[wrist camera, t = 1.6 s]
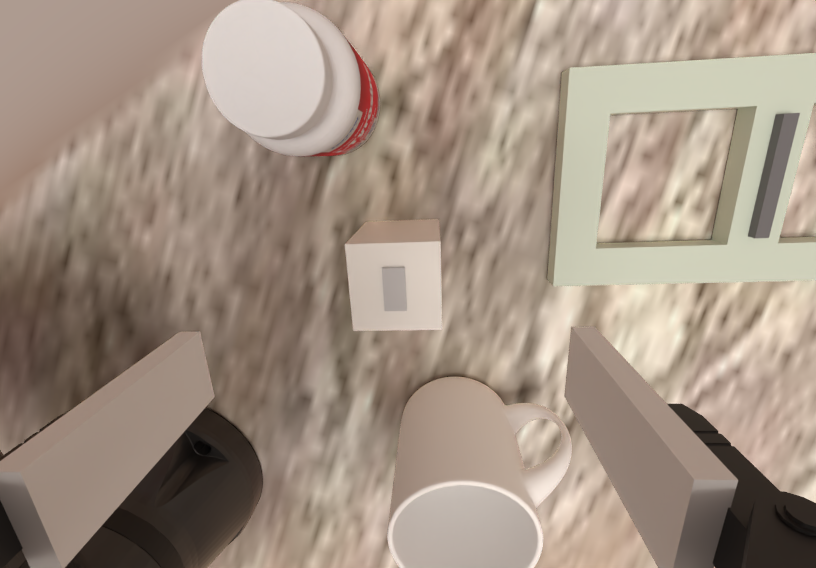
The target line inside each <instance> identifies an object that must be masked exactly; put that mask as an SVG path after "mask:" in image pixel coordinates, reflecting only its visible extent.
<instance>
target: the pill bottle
mask: <svg viewBox="0 0 816 568" xmlns="http://www.w3.org/2000/svg"><path fill="white" fill-rule="evenodd" d="M202 71H203V76H204V80H205V84H206V87H207V90H208V92H209V95H210V97H211V99H212V101H213V102H214V104H215V106H216V107H217V109H218V110H219V111H220V112H221V114H222V115H223V116H224V117H225V118H226V119H227V120H228V121H229V122H231V123H232V124H233V125H234V126H236V127H237V128H239V129H241V130H242V131H244V132H246V133H247V134H248V135H249V136H250V137H251V138H252V139H253V140H255V141H256V142H257V143H259V144H260V145H262V146H263V147H265V148H267V149H269V150H271V151H273V152H276V153H279V154H283V155H288V156H297V157H305V156H336V155H343V154H347V153H349V152H352V151H354V150H356V149H357V148H359V147H360V146H362V145H363V144H364V143H365V142H366V141H367V140H368V139H369V137H370V136H371V134H372V133H373V131H374V129H375V126H376V124H377V121H378V117H379V112H380V96H379V91H378V87H377V84H376V81H375V79H374V77H373V75H372V73H371V72H370V70H369V68H368V67H367V66H366V64H365V63H364V61H363V60H362V59H361V57H360V56H359V55H358V53H357V52H356V51H355V49H354V48H353V47H352V46H351V44H350V43H349V42H348V40H347V39H346V38H345V36H344V35H343V34H342V33H341V31H340V30H339V29H338V28H337V27H336V26H335V25H334V24H333V23H332V22H331V21H330V20H329V19H327V18H326V17H325V16H324V15H322V14H321V13H319V12H317V11H315V10H314V9H312V8H309V7H307V6H304V5H301V4H296V3H291V2H277V1H274V0H240V1H237V2H234V3H232V4H231V5H229V6H227V7H226V8H225V9H224V10H222V11H221V12H220V13H219V14H218V15H217V16H216V18H215V19H214V20H213V22H212V23H211V25H210V27H209V29H208V31H207V33H206V36H205V39H204V43H203V48H202Z"/></svg>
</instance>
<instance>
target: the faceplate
mask: <svg viewBox="0 0 816 568" xmlns="http://www.w3.org/2000/svg"><path fill="white" fill-rule="evenodd" d="M813 105H816V53H806V54H790V55H773V56H757V57H740V58H724V59H707V60H691V61H674V62H658V63H641V64H625V65H608V66H592V67H575V68H569V69H567V70H565V71H564V72H562V74H561V89H560V103H559V117H558V131H557V146H556V160H555V174H554V188H553V202H552V217H551V231H550V245H549V259H548V274H547V280H548V281H549V282H550V283H551V284H552V285H553V286H587V285H632V284H677V283H722V282H767V281H812V280H816V237H786V238H780V234H781V230H782V226H783V222H784V218H785V214H786V210H787V206H788V203H789V199H790V195H791V191H792V187H793V183H794V179H795V175H796V171H797V168H798V164H799V160H800V156H801V152H802V148H803V144H804V140H805V136H806V133H807V129H808V125H809V121H810V117H811V113H812V109H813ZM720 109H738V110H737V115H736V120H735V125H734V130H733V135H732V140H731V145H730V150H729V155H728V160H727V164H726V169H725V174H724V179H723V184H722V189H721V194H720V199H719V204H718V209H717V214H716V219H715V224H714V229H713V234H712V239H711V240H685V241H651V242H617V243H597V233H598V224H599V215H600V206H601V196H602V187H603V178H604V169H605V160H606V150H607V141H608V132H609V123H610V115H624V114H643V113H662V112H682V111H701V110H720Z"/></svg>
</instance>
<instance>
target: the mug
mask: <svg viewBox="0 0 816 568" xmlns="http://www.w3.org/2000/svg"><path fill="white" fill-rule="evenodd" d="M542 418H543V419H549V420H551V421H553V422H555V423H556V424H557V425H558V426H559V428H560V430H561V435H562V436H561V442H560V445H559V447H558V449H557V451H556V452H555V453H554V454H553V455H552V456H551V457H550V458H549V459H547V460H546V461H544V462H542V463H541V464H538V465H536V466H534V467H531V468H528V469H525V467H524V464H523V460H522V457H521V453H520V450H519V447H518V443H517V440H516V436H515V434H516V432H517V431H518V430H519V429H520V428H522V427H523V426H524V425H525V424H527V423H528V422H530V421H533V420H535V419H542ZM571 455H572V443H571V438H570V435H569V432H568V430H567V428H566V426H565V424H564V423H563V422H562V420H561V419H560V418H559V417H558V416H557V415H556V414H555V413H554V412H552V411H551V410H550V409H548V408H546V407H543V406H541V405H537V404H532V403H517V404H510V405H505V404H504V403H503V401H502V400H501V398H500V397H499V396H498V395H497V394H496V393H495V392H494V391H493V390H492V389H490V388H489V387H488V386H486V385H484V384H483V383H481V382H478V381H476V380H473V379H469V378H465V377H444V378H440V379H436V380H434V381H431V382H429V383H427V384H425V385H424V386H422V387H421V388H419V389H418V390H417V391H416V392H415V393H414V394H413V395H412V396H411V397H410V399H409V400H408V402H407V404H406V406H405V409H404V411H403V415H402V419H401V425H400V433H399V441H398V449H397V457H396V466H395V474H394V482H393V490H392V499H391V507H390V515H389V523H388V532H387V539H388V545H389V549H390V552H391V554H392V557H393V559H394V560H395V562H396V564H397V565H398V566H399V567H400V568H534V566H535V565H536V564H537V562H538V560H539V558H540V555H541V552H542V547H543V531H542V527H541V523H540V520H539V516H538V513H537V510H536V509H537V507H538V505H539V504H540V503H541V502H542V501H543V500H544V499H545V498H546V497H547V496H548V495H549V494H550V493H551V492H552V491H553V490H554V489H555V488H556V486H557V485H558V484H559V482H560V481H561V480H562V478H563V476H564V475H565V473H566V471H567V468H568V466H569V464H570V459H571Z"/></svg>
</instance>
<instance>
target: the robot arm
mask: <svg viewBox="0 0 816 568" xmlns="http://www.w3.org/2000/svg"><path fill="white" fill-rule="evenodd" d="M564 396H565V398H566V400H567V402H568V404H569V406H570V407H571V409H572V411H573V413H574V415H575V416H576V418H577V420H578V422H579V424H580V426H581V427H582V429H583V431H584V433H585V435H586V437H587V438H588V440H589V442H590V444H591V446H592V448H593V449H594V451H595V453H596V455H597V457H598V458H599V460H600V462H601V464H602V466H603V468H604V469H605V471H606V473H607V475H608V477H609V479H610V480H611V482H612V484H613V486H614V488H615V490H616V491H617V493H618V495H619V497H620V499H621V500H622V502H623V504H624V506H625V508H626V510H627V511H628V513H629V515H630V517H631V519H632V521H633V522H634V524H635V526H636V528H637V530H638V532H639V533H640V535H641V537H642V539H643V541H644V543H645V544H646V546H647V548H648V550H649V552H650V553H651V555H652V557H653V559H654V561H655V563H656V564H657V566H658V568H714V566H715V568H816V503H814V502H812V501H810V500H808V499H806V498H804V497H800V496H797V495H794V494H791V493H787V492H781V491H779V490H778V489H777V488H776V487H775V486H774V485H773V484H772V483H771V482H770V481H769V480H768V479H767V478H766V477H765V476H764V475H763V474H762V473H761V472H760V471H759V470H758V469H757V468H756V467H755V466H754V465H753V464H752V463H750V462H749V461H748V460H747V459H746V458H745V457H744V456H743V455H742V454H741V453H740V452H739V451H738V450H737V449H736V448H735V447H734V446H731V443H730V442H729V441H728V440H727V439H726V438H725V437H724V436H723V435H722V434H719V433H718V430H717V429H716V428H714V427H713V426H712V425H711V424H710V423H709V422H708V421H707V420H706V419H705V418H704V417H703V416H702V415H700V414H698V413H697V412H695V411H693V410H692V409H690V408H688V407H686V406H685V405H683V404H667V403H666V402H665V401H664V400H663V399H662V398H661V397H660V396H659V395H658V394H657V393H656V392H655V391H654V390H653V388H652V387H651V386H650V385H649V384H648V383H647V382H646V381H645V380H644V379H643V378H642V377H641V376H640V375H639V374H638V372H637V371H636V370H635V369H634V368H633V367H632V366H631V365H630V364H629V363H628V362H627V361H626V360H625V359H624V358H623V356H622V355H621V354H620V353H619V352H618V351H617V350H616V349H615V348H614V347H613V346H612V345H611V344H610V343H609V341H608V340H607V339H606V338H605V337H604V336H603V335H602V334H601V333H600V332H599V331H598V330H597V329H596V328H595V327H594V326H592V327H571V335H570V345H569V355H568V365H567V375H566V385H565V395H564ZM214 397H215V395H214V391H213V386H212V382H211V378H210V373H209V369H208V364H207V360H206V355H205V351H204V346H203V342H202V338H201V333H200V331H194V332H179V333H177V334H176V335H174V336H173V337H172V338H170V339H169V340H168V341H166V342H165V343H163V344H162V345H161V346H159V347H158V348H156V349H155V350H154V351H152V352H151V353H149V354H148V355H147V356H145V357H144V358H143V359H141V360H140V361H138V362H137V363H136V364H134V365H133V366H131V367H130V368H129V369H127V370H126V371H124V372H123V373H122V374H120V375H119V376H118V377H116V378H115V379H113V380H112V381H111V382H109V383H108V384H106V385H105V386H104V387H102V388H101V389H100V390H98V391H97V392H95V393H94V394H93V395H91V396H90V397H88V398H87V399H86V400H84V401H83V402H81V403H80V404H79V405H77V406H76V407H75V408H73V409H72V410H70V411H68V412H66V413H64V414H62V415H60V416H58V417H57V418H56V419H54V420H53V421H51V422H50V423H49V424H47V425H46V426H44V427H43V428H42V429H40V431H39V432H36V433H35V434H33V435H32V436H30V437H29V438H28V439H26V440H25V441H24V443H23V444H19V445H18V446H16V447H15V448H13V449H12V450H11V451H9V452H8V453H6V454H5V455H3V454H2V452H1V451H0V568H207V567H208V566H209V565H210V564H211V563H212V562H213V561H214V560H215V559H216V557H217V556H218V555H219V554H220V553H221V552H222V551H223V550H224V548H225V547H226V546H227V545H229V544H230V543H231V542H232V541H233V540H234V539H235V538H236V537H237V536H238V535H239V534H240V533H241V532H242V530H243V529H244V528H245V526H246V525H247V523H248V521H249V519H250V517H251V515H252V513H253V511H254V509H255V507H256V505H257V503H258V501H259V499H260V496H261V491H262V472H261V468H260V464H259V461H258V459H257V457H256V454H255V453H254V451H253V449H252V447H251V446H250V444H249V443H248V442H247V440H246V439H245V438H244V437H243V435H242V434H241V433H240V432H239V431H238V430H237V429H236V428H235V427H234V426H232V425H231V424H230V423H229V422H228V421H226V420H225V419H223V418H222V417H220V416H219V415H217V414H216V413H214V412H212V411H210V410H208V409H206V408H205V407H206V406H207V405H208V404H209V403H210V402H211V401H212V399H213V398H214Z"/></svg>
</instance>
